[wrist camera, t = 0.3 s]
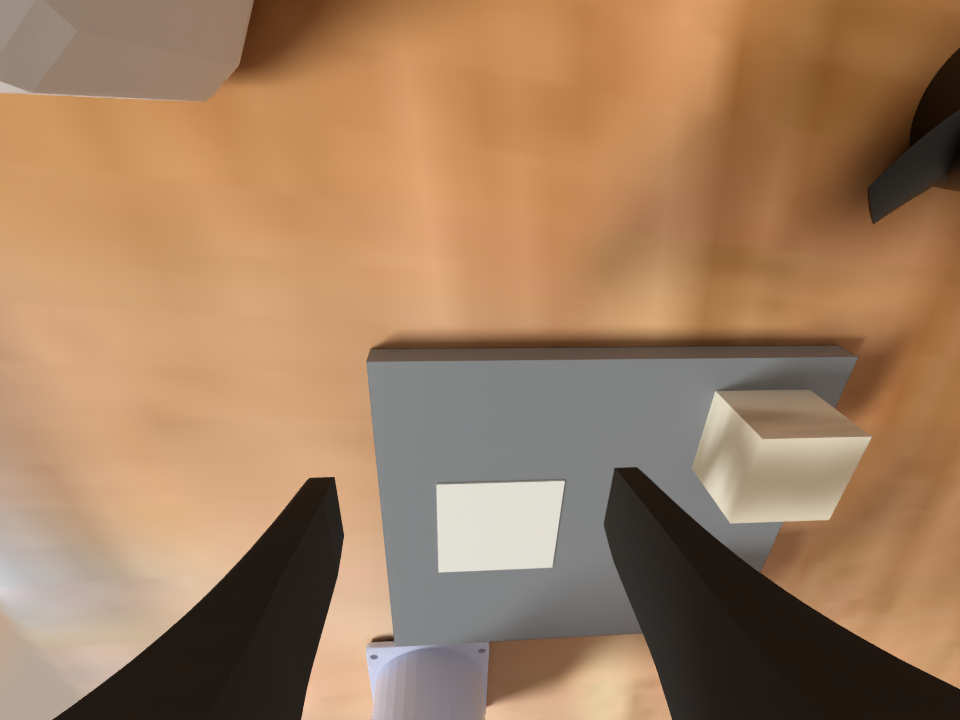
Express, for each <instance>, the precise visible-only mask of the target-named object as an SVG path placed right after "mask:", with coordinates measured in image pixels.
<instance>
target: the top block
mask: <svg viewBox="0 0 960 720" xmlns="http://www.w3.org/2000/svg"><path fill="white" fill-rule="evenodd" d="M871 438H872V436H871V435H869V434H868V433H867V432H865V431H864V430H863V429H861V428H860V427H859V426H857V425H856V424H855V423H854V422H852V421H851V420H850V419H848V418H847V417H846V416H844V415H843V414H842V413H840V412H839V411H838V410H836V409H835V408H834V407H832V406H831V405H830V404H828V403H827V402H826V401H824V400H823V399H822V398H820V397H819V396H818V395H816V394H815V393H814V392H812V391H811V390H747V391H715V394H714V397H713V400H712V404H711V407H710V410H709V414H708V417H707V420H706V423H705V427H704V430H703V433H702V436H701V440H700V443H699V446H698V449H697V453H696V456H695V459H694V463H693V466H692V470H693V471H694V472H695V474H696V475H697V477H698V478H699V480H700V481H701V482H702V484H703V485H704V487H705V488H706V490H707V491H708V492H709V494H710V495H711V497H712V498H713V500H714V501H715V502H716V504H717V505H718V507H719V508H720V510H721V511H722V512H723V514H724V515H725V517H726V518H727V520H728V521H729V522H730V524H731V523H758V522H785V521H811V520H829V519H830V517H831V515H832V513H833V511H834V509H835V507H836V505H837V504H838V502H839V500H840V498H841V496H842V494H843V492H844V490H845V488H846V486H847V484H848V482H849V480H850V478H851V476H852V475H853V473H854V471H855V469H856V467H857V465H858V463H859V461H860V459H861V457H862V455H863V453H864V451H865V449H866V448H867V446H868V444H869V442H870V440H871Z"/></svg>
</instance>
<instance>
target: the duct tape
mask: <svg viewBox="0 0 960 720" xmlns="http://www.w3.org/2000/svg"><path fill="white" fill-rule="evenodd" d="M933 186H935V187H938V188H942V189H949V190H955V191H960V48H959V49H958V50H957V51H956V52H955V53H954V54H953V55H952V56H951V57H950V58H949V59H948V60H947V61H946V62H945V64H944V65H943V66H942V67H941V68H940V70H939V71H938V72H937V74H936V75H935V76H934V78H933V79H932V81H931V82H930V84H929V86H928V87H927V89H926V91H925V92H924V94H923V96H922V98H921V100H920V103H919V105H918V107H917V110H916V113H915V116H914V119H913V122H912V127H911V132H910V148H909V149H908V150H907V151H906V152H905V153H904V154H902V155H901V156H900V157H899V158H898V159H897V160H896V161H895V162H894V163H893V164H892V165H891V166H889V167H888V168H887V169H886V170H885V171H884V172H883V173H882V174H881V175H880V176H879V177H878V178H877V179H876V180H875V181H874V182H873V183H872V184H871V185H870V186H869V187H868V205H869V212H870V216H871V220H872V223H873V224H875V223H876V222H878V221H879V220H880V219H882V218H883V217H885V216H886V215H888V214H889V213H891V212H892V211H894V210H895V209H897V208H898V207H900V206H902V205H903V204H905V203H906V202H908V201H910V200H911V199H913V198H914V197H916V196H918V195H920V194H921V193H923V192H925V191H926V190H928V189H930V188H931V187H933Z"/></svg>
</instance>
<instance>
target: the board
mask: <svg viewBox="0 0 960 720" xmlns="http://www.w3.org/2000/svg"><path fill="white" fill-rule="evenodd" d="M857 359H858V356H856V355H854V354H853V353H851V352H849V351H847V350H846V349H844V348H842V347H841V346H839V345H823V346H697V347H571V348H446V349H370V352H369V355H368V358H367V362H366V363H367V373H368V383H369V393H370V403H371V413H372V423H373V433H374V443H375V453H376V463H377V473H378V483H379V493H380V503H381V513H382V523H383V533H384V543H385V553H386V563H387V573H388V583H389V593H390V603H391V613H392V623H393V633H394V643H395V647H401V646H419V645H438V644H456V643H474V642H493V641H511V640H530V639H548V638H566V637H585V636H603V635H621V634H640V633H642V630H641V628H640V625H639V623H638V621H637V618H636V616H635V613H634V611H633V608H632V606H631V604H630V601H629V599H628V596H627V594H626V592H625V589H624V587H623V584H622V582H621V579H620V577H619V574H618V572H617V569H616V567H615V564H614V561H613V558H612V554H611V551H610V547H609V544H608V540H607V536H606V532H605V529H604V525H603V524H604V519H605V514H606V509H607V504H608V499H609V494H610V488H611V483H612V478H613V473H614V468H625V467H638V468H639V469H640V470H641V471H642V472H643V473H644V474H645V475H647V476H648V477H649V478H650V479H651V480H652V481H653V482H654V483H655V484H656V485H657V486H658V487H659V488H660V489H661V490H662V491H664V492H665V493H666V494H667V495H668V496H669V497H670V498H671V499H672V500H673V501H674V502H675V503H676V504H678V505H679V506H680V507H681V508H682V509H683V510H684V511H685V512H686V513H687V514H689V515H690V516H691V517H692V518H693V519H694V520H695V521H696V522H698V523H699V524H700V525H701V526H702V527H703V528H704V529H706V530H707V531H708V532H709V533H710V534H711V535H713V536H714V537H715V538H716V539H717V540H719V541H720V542H721V543H722V544H724V545H725V546H726V547H727V548H729V549H730V550H731V551H732V552H734V553H735V554H736V555H737V556H738V557H740V558H741V559H742V560H744V561H745V562H746V563H748V564H749V565H750V566H752V567H753V568H754V569H756V570H757V571H758V572H761V570H762V568H763V565H764V563H765V561H766V559H767V557H768V554H769V552H770V550H771V548H772V546H773V543H774V541H775V539H776V537H777V535H778V532H779V530H780V528H781V526H782V524H783V522H758V523H731V524H730V522H729V521H728V520H727V518H726V517H725V515H724V514H723V512H722V511H721V510H720V508H719V507H718V505H717V504H716V502H715V501H714V500H713V498H712V497H711V495H710V494H709V492H708V491H707V490H706V488H705V487H704V485H703V484H702V482H701V481H700V480H699V478H698V477H697V475H696V474H695V472H694V471H693V470H692V466H693V463H694V459H695V456H696V453H697V449H698V446H699V443H700V440H701V436H702V433H703V430H704V427H705V423H706V420H707V417H708V414H709V410H710V407H711V404H712V400H713V397H714V394H715V391H747V390H811V391H812V392H814V393H815V394H816V395H818V396H819V397H820V398H822V399H823V400H824V401H826V402H827V403H828V404H830V405H831V406H832V407H834V408H835V407H836V405H837V403H838V401H839V399H840V396H841V394H842V392H843V390H844V388H845V385H846V383H847V381H848V379H849V377H850V374H851V372H852V370H853V368H854V366H855V363H856V361H857Z"/></svg>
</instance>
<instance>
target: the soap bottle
mask: <svg viewBox="0 0 960 720" xmlns="http://www.w3.org/2000/svg"><path fill="white" fill-rule="evenodd" d="M253 2H254V0H0V93H15V94H36V95H58V96H79V97H101V98H122V99H143V100H170V101H207V100H208V99H209V98H211V97H212V96H213V95H214V94H215V93H216V92H217V90H218V89H219V88H220V87H221V86H222V85H223V83H224V82H225V81H226V80H227V79H228V78H229V77H230V75H231V74H232V73H233V72H234V71H235V70H236V68H237V67H238V66H239V64H240V60H241V55H242V51H243V46H244V42H245V38H246V33H247V29H248V24H249V20H250V16H251V11H252V7H253Z"/></svg>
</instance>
